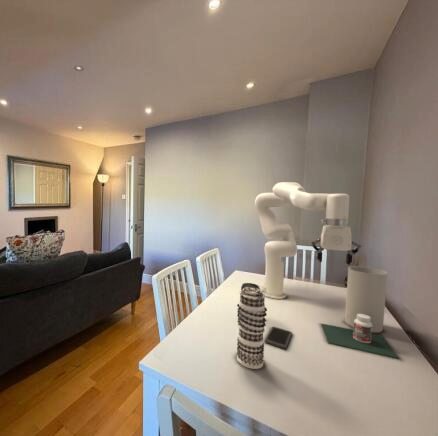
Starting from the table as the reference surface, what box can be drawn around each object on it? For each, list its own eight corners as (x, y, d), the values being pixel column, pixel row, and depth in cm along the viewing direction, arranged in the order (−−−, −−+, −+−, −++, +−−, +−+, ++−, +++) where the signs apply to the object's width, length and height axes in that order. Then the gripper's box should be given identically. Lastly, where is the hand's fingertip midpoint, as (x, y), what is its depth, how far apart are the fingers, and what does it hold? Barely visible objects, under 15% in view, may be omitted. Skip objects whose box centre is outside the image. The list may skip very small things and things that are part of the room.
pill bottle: (352, 340, 95) (354, 316, 95) (352, 334, 100) (354, 311, 99) (371, 345, 92) (373, 320, 91) (370, 339, 96) (372, 315, 95)
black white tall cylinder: (262, 373, 78) (266, 297, 76) (232, 363, 83) (235, 291, 81) (266, 357, 85) (269, 288, 83) (238, 349, 90) (240, 283, 88)
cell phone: (264, 342, 94) (264, 340, 94) (272, 327, 105) (272, 325, 105) (285, 349, 90) (285, 347, 90) (292, 333, 101) (292, 331, 101)
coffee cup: (258, 313, 118) (259, 283, 117) (260, 322, 110) (261, 289, 109) (239, 311, 121) (240, 281, 120) (240, 319, 113) (241, 287, 112)
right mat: (328, 343, 94) (328, 342, 94) (321, 324, 108) (321, 323, 108) (398, 358, 85) (399, 357, 85) (381, 336, 99) (381, 335, 99)
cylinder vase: (375, 322, 110) (379, 268, 108) (388, 336, 99) (393, 276, 97) (341, 316, 115) (344, 264, 114) (349, 329, 104) (353, 272, 102)
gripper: (313, 222, 104) (310, 262, 105) (365, 224, 96) (362, 267, 97) (310, 221, 111) (308, 258, 112) (359, 223, 103) (357, 263, 104)
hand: (333, 262), depth 105 cm, fingers open, 9 cm apart
